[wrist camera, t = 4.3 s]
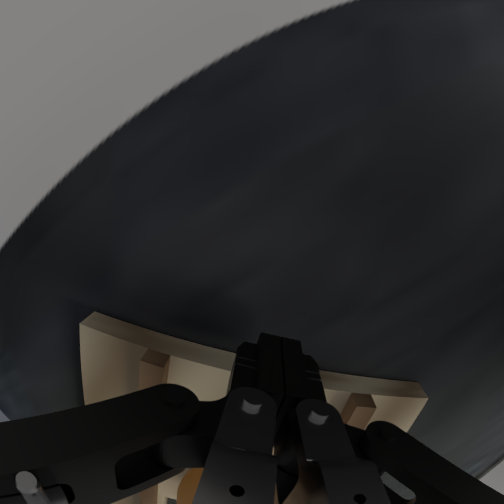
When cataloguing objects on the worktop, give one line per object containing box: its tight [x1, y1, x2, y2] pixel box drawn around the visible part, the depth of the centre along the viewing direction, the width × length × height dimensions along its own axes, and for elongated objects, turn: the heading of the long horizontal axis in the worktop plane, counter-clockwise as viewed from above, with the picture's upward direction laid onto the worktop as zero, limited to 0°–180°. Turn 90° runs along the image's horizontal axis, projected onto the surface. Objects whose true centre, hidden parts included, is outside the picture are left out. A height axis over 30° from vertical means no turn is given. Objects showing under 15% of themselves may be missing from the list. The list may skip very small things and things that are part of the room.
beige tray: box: [80, 311, 429, 504], centre depth 14 cm, size 17×22×4 cm
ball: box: [177, 468, 204, 504], centre depth 11 cm, size 5×5×5 cm
